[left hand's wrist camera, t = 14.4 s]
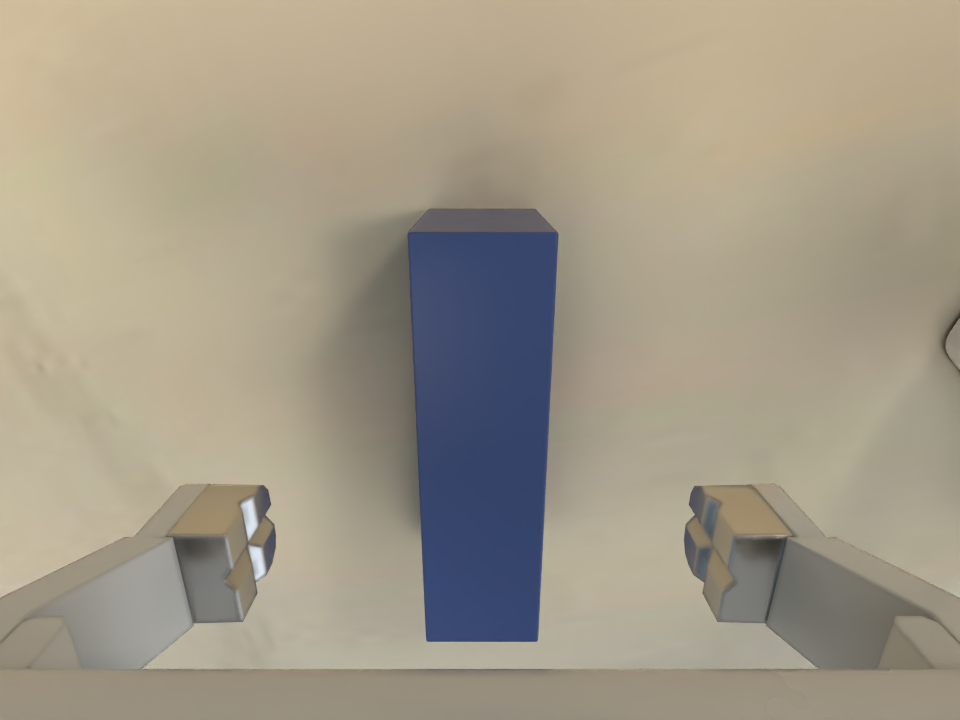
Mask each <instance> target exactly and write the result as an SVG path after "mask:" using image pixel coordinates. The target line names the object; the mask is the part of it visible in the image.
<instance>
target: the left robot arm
mask: <svg viewBox="0 0 960 720" xmlns="http://www.w3.org/2000/svg"><path fill="white" fill-rule="evenodd" d="M945 348H946V351H947V354H948V356H949V357H950V359H951V360H952V362H953V363H954V364H955V365H956V366H957V367H958V369H959V370H960V318H959V319H958V321H957V322H956V324H955V325H954V327H953V328H952V330H951V331H950V333H949V334H948V336H947V339H946V343H945ZM270 505H271V502H270V497H269V492H268V489H267V488H266V487H265V486H264V485H230V484H212V485H211V484H186V485H182V486H180V487H179V488H178V489H177V490H176V491H175V492H174V493H173V494H172V495H171V497H170V498H169V499H168V500H167V501H166V502H165V503H164V504H163V505H162V506H161V508H160V509H159V510H158V511H157V512H156V513H155V514H154V515H153V516H152V518H151V519H150V520H149V521H148V522H147V523H146V524H145V525H144V526H143V527H142V529H141V530H140V531H139V532H138V533H137V534H136V535H135V536H134V537H124V538H122V539H120V540H118V541H116V542H114V543H112V544H110V545H108V546H106V547H104V548H102V549H100V550H98V551H96V552H94V553H91V554H89V555H87V556H85V557H83V558H81V559H79V560H77V561H75V562H73V563H71V564H69V565H67V566H65V567H63V568H61V569H59V570H56V571H54V572H52V573H50V574H48V575H46V576H44V577H42V578H40V579H38V580H36V581H34V582H32V583H30V584H28V585H26V586H24V587H22V588H19V589H17V590H15V591H13V592H11V593H9V594H7V595H5V596H3V597H1V598H0V720H960V598H959V597H957V596H955V595H953V594H951V593H948V592H946V591H944V590H942V589H940V588H938V587H936V586H934V585H932V584H930V583H928V582H926V581H924V580H922V579H920V578H918V577H916V576H914V575H912V574H909V573H907V572H905V571H903V570H901V569H899V568H897V567H895V566H893V565H891V564H889V563H887V562H885V561H883V560H881V559H879V558H877V557H875V556H873V555H871V554H868V553H866V552H864V551H862V550H860V549H858V548H856V547H854V546H852V545H850V544H848V543H846V542H844V541H842V540H840V539H838V538H836V537H826V536H825V535H824V534H823V533H822V532H821V531H820V530H819V529H818V527H817V526H816V525H815V524H814V523H813V522H812V521H811V520H810V519H809V517H808V516H807V515H806V514H805V513H804V512H803V511H802V510H801V509H800V508H799V506H798V505H797V504H796V503H795V502H794V501H793V500H792V499H791V498H790V497H789V495H788V494H787V493H786V492H785V491H784V490H783V489H782V488H781V487H780V486H778V485H776V484H749V485H719V486H694V488H693V490H692V492H691V496H690V502H689V505H690V507H691V509H692V511H693V512H694V514H695V515H694V516H693V517H692V518H691V519H690V521H689V522H688V523H687V524H686V527H685V535H684V545H685V554H686V558H687V561H688V565H689V567H690V569H691V571H692V573H693V575H694V576H696V577H697V578H699V579H700V580H701V581H703V582H704V588H703V595H704V597H705V599H706V601H707V603H708V605H709V607H710V609H711V610H712V612H713V614H714V616H715V618H716V620H717V622H739V623H767V624H766V626H767V627H769V628H770V629H771V630H772V631H773V632H775V633H776V634H777V635H778V636H779V637H781V638H782V639H783V640H784V641H786V642H787V643H788V644H789V645H790V646H792V647H793V648H794V649H795V650H796V651H798V652H799V653H800V654H801V655H802V656H804V657H805V658H806V659H807V660H809V661H810V662H811V663H812V664H813V665H815V666H816V667H817V668H818V669H142V668H143V667H144V666H146V665H147V664H148V663H149V662H150V661H152V660H153V659H154V658H155V657H157V656H158V655H159V654H160V653H161V652H163V651H164V650H165V649H166V648H167V647H169V646H170V645H171V644H172V643H173V642H175V641H176V640H177V639H178V638H180V637H181V636H182V635H183V634H184V633H186V632H187V631H188V630H189V629H190V628H192V627H193V626H194V624H193V623H220V622H243V620H244V618H245V616H246V614H247V613H248V611H249V609H250V607H251V605H252V603H253V601H254V599H255V597H256V595H257V587H256V582H257V581H259V580H260V579H261V578H263V577H264V576H266V575H267V573H268V571H269V569H270V567H271V565H272V562H273V557H274V553H275V548H276V533H275V527H274V524H273V523H272V522H271V521H270V519H269V518H268V517H267V516H266V515H265V514H266V512H267V511H268V509H269V507H270Z"/></svg>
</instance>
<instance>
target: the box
mask: <svg viewBox="0 0 960 720" xmlns="http://www.w3.org/2000/svg"><path fill="white" fill-rule="evenodd" d="M557 250H558V232H557V231H556V230H555V229H554V228H553V227H552V226H551V225H550V224H549V223H548V222H547V221H546V220H545V219H544V218H543V217H542V216H541V214H540V213H539V212H538V211H537V210H536V209H429V210H428V211H427V212H426V213H425V214H424V215H423V216H422V218H421V219H420V220H419V221H418V222H417V223H416V224H415V225H414V227H413V228H412V229H411V230H410V231H409V232H408V253H409V274H410V296H411V318H412V340H413V362H414V384H415V406H416V428H417V450H418V472H419V494H420V515H421V537H422V559H423V581H424V603H425V625H426V640H427V641H428V642H537V641H538V630H539V610H540V590H541V570H542V550H543V530H544V510H545V490H546V470H547V450H548V430H549V410H550V390H551V370H552V350H553V330H554V310H555V290H556V270H557Z"/></svg>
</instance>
